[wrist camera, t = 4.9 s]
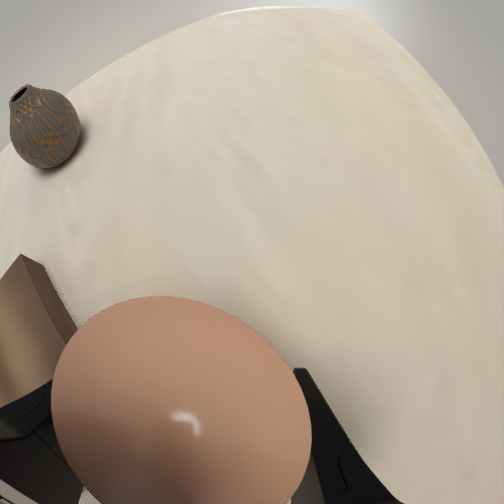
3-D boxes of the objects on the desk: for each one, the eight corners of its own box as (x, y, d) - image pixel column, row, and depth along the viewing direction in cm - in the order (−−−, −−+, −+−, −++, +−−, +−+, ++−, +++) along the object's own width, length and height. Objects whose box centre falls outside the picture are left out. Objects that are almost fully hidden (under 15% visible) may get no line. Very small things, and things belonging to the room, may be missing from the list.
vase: (100, 141, 23) (60, 75, 15) (48, 191, 21) (-6, 137, 13) (75, 116, 25) (41, 61, 16) (30, 159, 23) (-13, 111, 15)
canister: (222, 449, 14) (177, 565, 3) (151, 377, 15) (19, 395, 5) (297, 382, 15) (369, 433, 5) (223, 310, 17) (170, 240, 6)
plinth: (53, 509, 12) (36, 519, 9) (-32, 368, 15) (-52, 366, 13) (160, 434, 15) (144, 447, 12) (42, 265, 19) (20, 253, 16)
